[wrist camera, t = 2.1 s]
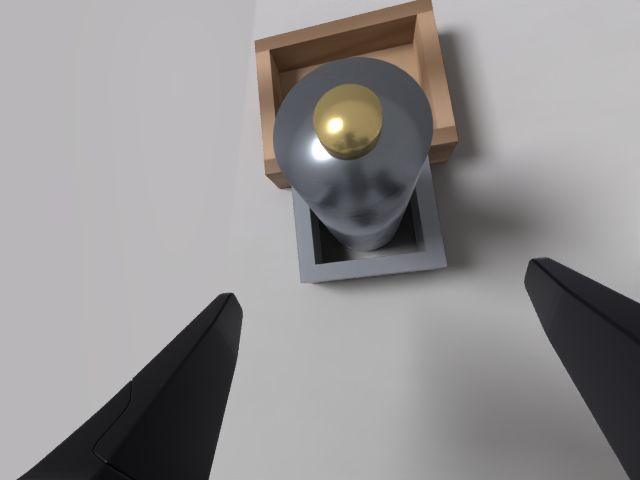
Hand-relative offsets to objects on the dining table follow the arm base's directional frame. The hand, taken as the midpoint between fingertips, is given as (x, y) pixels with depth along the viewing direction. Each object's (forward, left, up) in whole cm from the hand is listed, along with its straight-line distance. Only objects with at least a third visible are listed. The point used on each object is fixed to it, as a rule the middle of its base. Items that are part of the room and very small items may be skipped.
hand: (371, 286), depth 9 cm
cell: (+3, +4, -11) cm, 12 cm away
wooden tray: (+8, +10, -11) cm, 17 cm away
